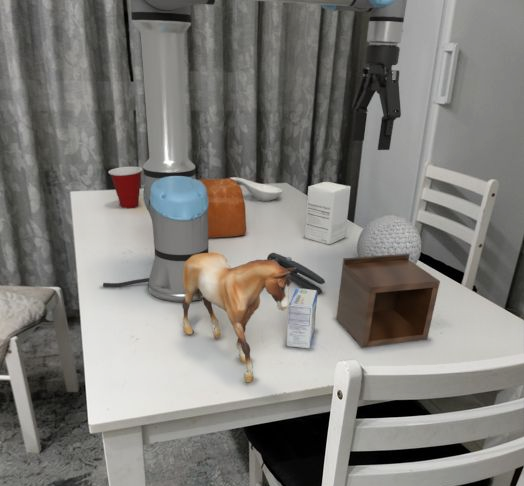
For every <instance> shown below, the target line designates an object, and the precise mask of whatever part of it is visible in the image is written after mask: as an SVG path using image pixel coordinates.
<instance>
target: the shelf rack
mask: <svg viewBox="0 0 524 486" xmlns="http://www.w3.org/2000/svg"><path fill="white" fill-rule="evenodd" d="M440 284H441V280H439V279H438V278H436V277H435V276H433V275H432V274H431V273H429V272H428V271H426V270H425V269H423V268H422V267H420V266H419V265H417V263H416V264H414V263H413V262H411V261H410V260H409V254H395V255H382V256H368V257H358V256H355V257H343V258H342V269H341V276H340V284H339V293H338V302H337V309H336V310H337V311H336V317H335V318H336V321H337V322H338V323H339V324H340V325H341V326H342V327H343V329H344V330H345V331H346V332H347V333H348V334H349V335H350V336H351V337H352V339H353V340H354V341H355V342H356V343H357V344H358V345H359V346H360V347H361V348H369V347H378V346H384V345H393V344H401V343H410V342H417V341H418V342H419V341H426V340H428V338H429V333H430V328H431V324H432V320H433V315H434V310H435V306H436V302H437V298H438V293H439V288H440Z"/></svg>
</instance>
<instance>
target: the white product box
mask: <svg viewBox="0 0 524 486" xmlns="http://www.w3.org/2000/svg"><path fill="white" fill-rule="evenodd" d="M351 187H352V186H351V185H345V184H340V183H335V182H331V181H322V182H318V183H316V184H311V185H309V186H308V187H307V198H306V210H305V211H306V213H305V227H304V239H308V240H312V241H315V242H319V243H322V244H325V245H331V244H334V243H336V242H338V241H340V240H343V239H345V238H346V236H347V235H346V234H347V226H348V225H347V224H348V215H349V206H350V198H351V197H350V196H351Z"/></svg>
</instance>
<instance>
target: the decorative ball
mask: <svg viewBox="0 0 524 486" xmlns="http://www.w3.org/2000/svg"><path fill="white" fill-rule="evenodd" d="M421 253H422V238H421V235H420V232H419V231H418V229H417V228H416V226H415V225H414V223H412V222H411V221H410V220H408V219H407V218H405V217H403V216H400V215H396V214H387V215H381V216H379V217H376V218H374V219H372V220H371V221H369V222H368V223H367V224H366V225H364V227H363V228H362V230H361V232H360V234H359V235H358V239H357V243H356V254H357V257H368V256H382V255H395V254H409V260H410V261H411V262H413V263H414V264H416V265H417V263H418V261H419V259H420V257H421Z"/></svg>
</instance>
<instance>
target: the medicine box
mask: <svg viewBox="0 0 524 486" xmlns="http://www.w3.org/2000/svg"><path fill="white" fill-rule="evenodd" d="M289 303H290V304H289V307H288V308H287V324H286V325H287V326H286V327H287V328H286V346H287V347H292V348H299V349H310V348H311V345H312V340H313V337H314V332H315V328H316V327H315V326H316V315H317V303H318V294H317V291H316V290H310V289H305V288H295V289H294V292H293V294H292V297H291V299H290V301H289Z"/></svg>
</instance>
